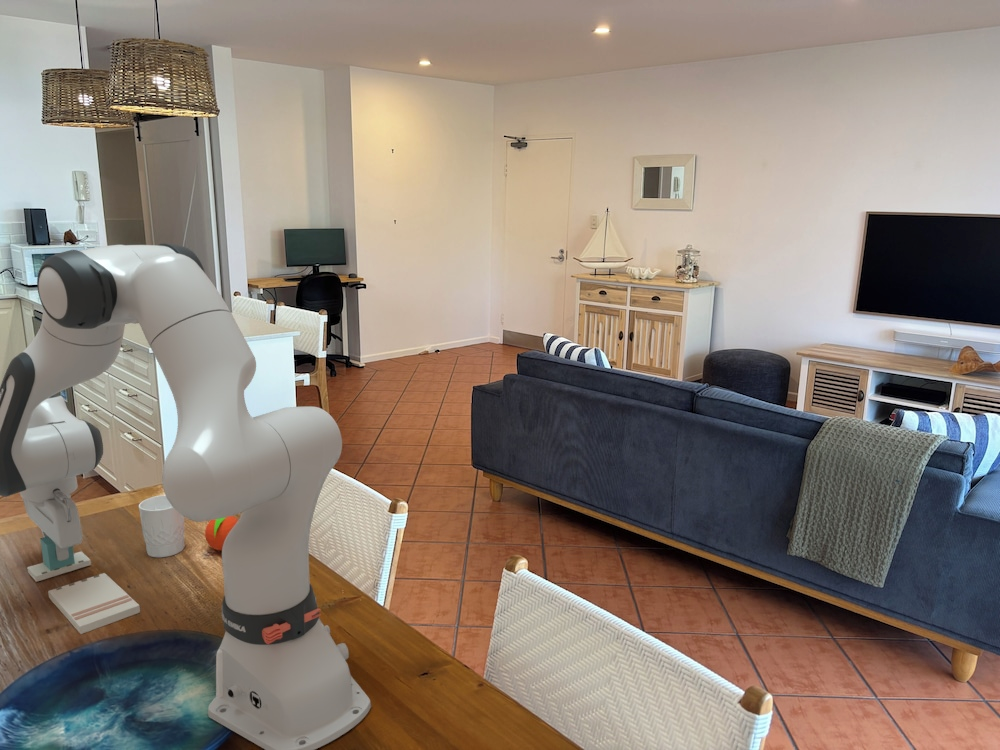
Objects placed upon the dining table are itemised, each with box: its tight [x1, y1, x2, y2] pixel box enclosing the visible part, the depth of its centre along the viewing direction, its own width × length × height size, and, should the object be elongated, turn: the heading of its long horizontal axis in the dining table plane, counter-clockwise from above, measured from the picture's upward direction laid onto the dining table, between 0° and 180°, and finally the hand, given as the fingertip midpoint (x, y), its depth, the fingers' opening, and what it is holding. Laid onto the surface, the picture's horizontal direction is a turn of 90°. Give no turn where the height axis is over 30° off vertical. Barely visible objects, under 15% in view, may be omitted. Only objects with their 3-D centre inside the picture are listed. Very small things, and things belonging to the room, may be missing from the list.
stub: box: [26, 536, 92, 583], centre depth 135 cm, size 5×9×6 cm, turn 137°
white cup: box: [138, 494, 186, 559], centre depth 143 cm, size 8×8×10 cm
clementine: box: [204, 516, 239, 552], centre depth 143 cm, size 8×7×7 cm
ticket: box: [47, 572, 141, 635], centre depth 124 cm, size 16×9×1 cm, turn 47°
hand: (57, 553), depth 135 cm, fingers closed on stub, 4 cm apart
